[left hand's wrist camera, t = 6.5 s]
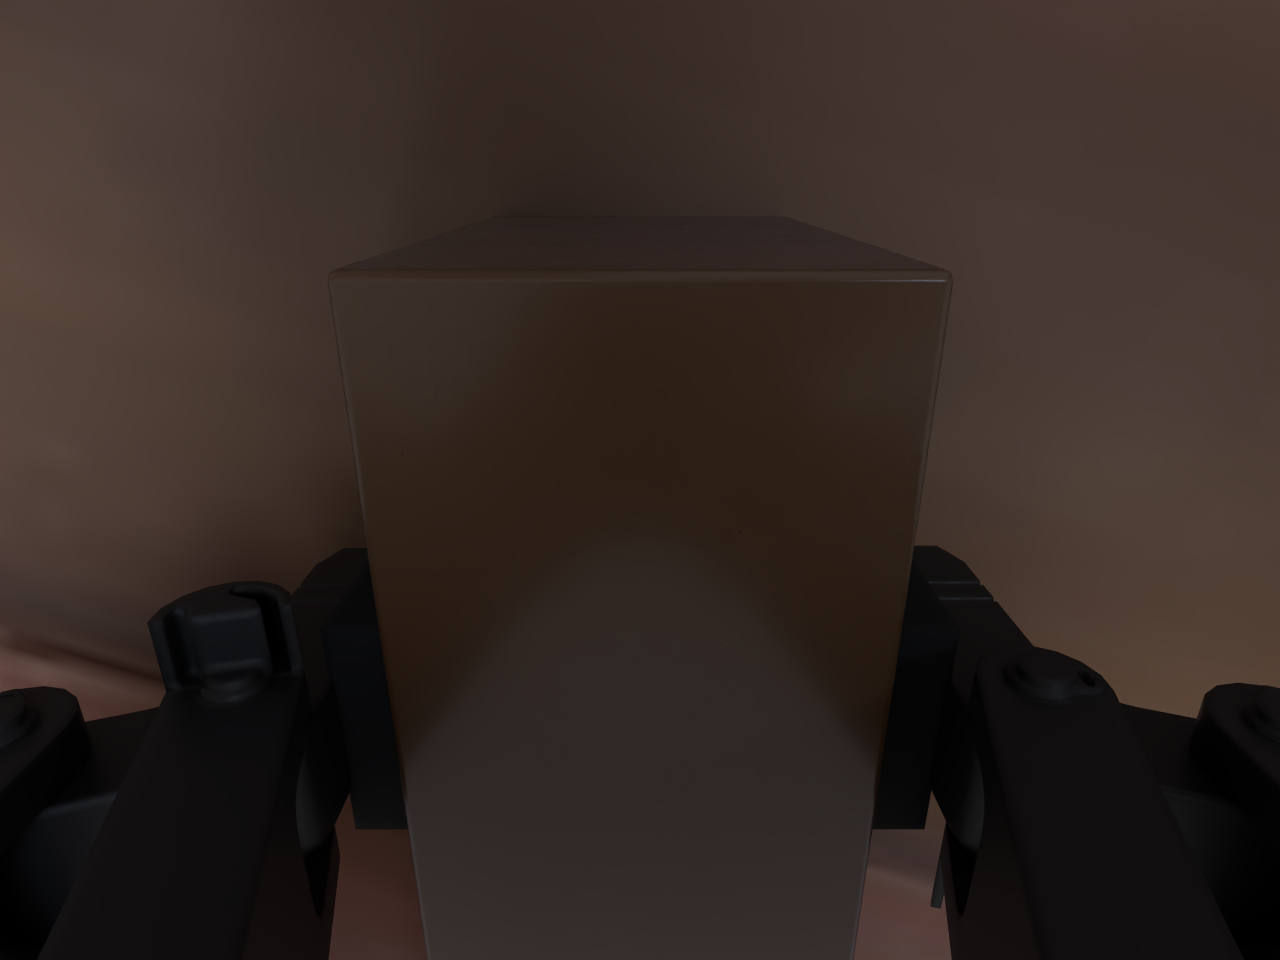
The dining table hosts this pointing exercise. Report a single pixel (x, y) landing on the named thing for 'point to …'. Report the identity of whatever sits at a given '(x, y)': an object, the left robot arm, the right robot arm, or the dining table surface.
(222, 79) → the dining table surface
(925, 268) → the post
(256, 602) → the left robot arm
